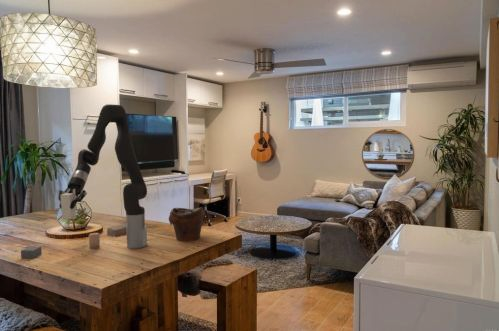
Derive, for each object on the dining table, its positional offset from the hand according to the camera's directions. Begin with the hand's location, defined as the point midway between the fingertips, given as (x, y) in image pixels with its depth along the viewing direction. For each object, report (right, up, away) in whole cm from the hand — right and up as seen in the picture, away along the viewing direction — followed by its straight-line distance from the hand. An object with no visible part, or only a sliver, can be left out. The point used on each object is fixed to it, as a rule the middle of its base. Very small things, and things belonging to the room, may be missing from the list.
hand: (66, 208), depth 174 cm
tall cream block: (0, -5, +2) cm, 6 cm away
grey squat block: (-14, -23, -4) cm, 27 cm away
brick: (+14, -20, +38) cm, 45 cm away
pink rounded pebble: (+10, -21, +9) cm, 25 cm away
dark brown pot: (+55, -20, +25) cm, 64 cm away
